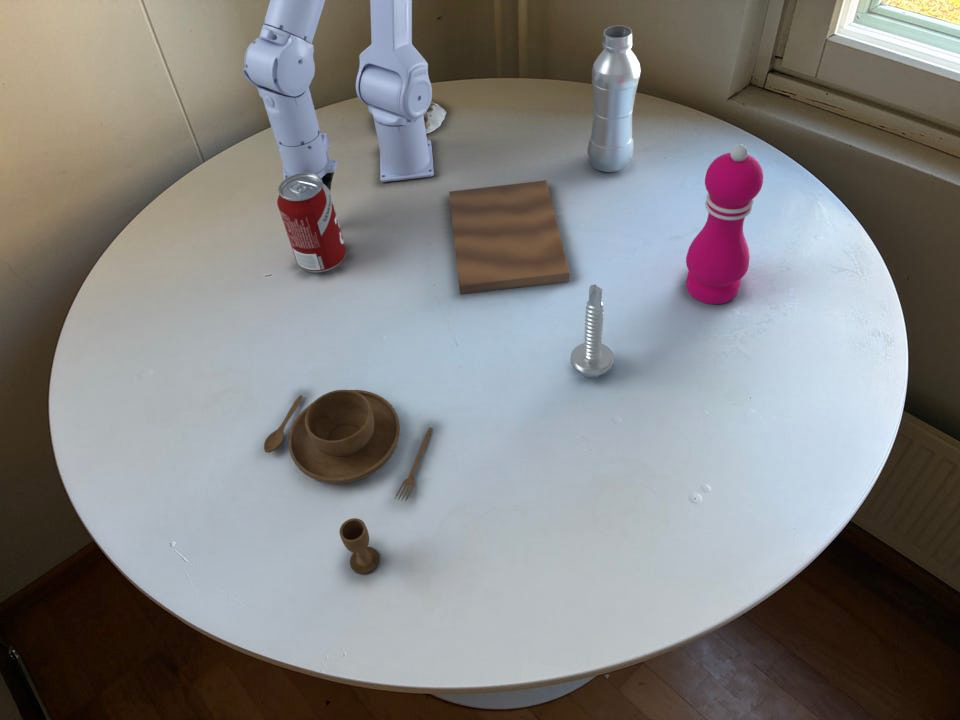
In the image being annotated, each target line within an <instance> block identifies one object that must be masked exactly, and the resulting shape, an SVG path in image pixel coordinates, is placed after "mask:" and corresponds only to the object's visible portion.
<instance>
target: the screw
mask: <svg viewBox="0 0 960 720" xmlns="http://www.w3.org/2000/svg"><path fill="white" fill-rule="evenodd" d="M602 298H603V288H601V287H600V286H598V285H597V284H592V285H590V286H589V287H588V301H586V306H585V316H584V317H585V319H584V320H585V323H584V342H582V343H580V344H578V345H576V346H575V347H574V348H573V349H572V350H571V353H570V359H569V361H570V364H571V366H572V368H573V369H574V370H575V371H576V372H578V373H579V374H582V375H583V376H584V378H587V379H589V378H592V379H599V378H600V376H603V375H604V374H607V373H608V372H609V371H610V370H611V369H613V367H614V365H615V364H614V363H615V355H614V352H613V350H612V349H611V348H610V347H609V346H607V345H606V344H604V343H603V341H602V340H603V330H604V329H603V328H604V325H603V324H604V312H605V310H604V303H603V302H602V301H603V300H602Z"/></svg>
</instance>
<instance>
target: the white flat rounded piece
mask: <svg viewBox="0 0 960 720" xmlns="http://www.w3.org/2000/svg"><path fill="white" fill-rule="evenodd" d="M434 101H435V99H433V98H432V99H431V103H430V106H429V108H428V110H427V112H426V113H425V114H424V115H423V116H424V123H425V129H426V135H427V134H430V133H433V132H434V131H435V130H437V129H438V128H440V127H441V125H442V122H443V121H444V120H445V118H446V115H447V114H448V112H447V111H446V109H444V108H443V107H442V106H441V105H440V104H438V103H434Z"/></svg>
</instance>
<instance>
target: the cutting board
mask: <svg viewBox="0 0 960 720" xmlns="http://www.w3.org/2000/svg"><path fill="white" fill-rule="evenodd" d="M549 189H550V188H549V186H548V181H547V180H546V179H545V180H537V181H527V182H519V183H511V184H502V185H493V186H486V187H477V188H467V189H459V190H450V191H448V195H449V205H450V206H449V207H450V213H451V215H450V217H451V225H452V234H453V245H454V253H455V261H456V271H457V281H458V291H459V295H464V294H466V295H467V294H474V293H475V294H476V293H484V292H492V291H501V290H509V289H516V288H517V289H519V288H525V287H527V288H528V287H533V286H542V285H552V284H559V283H561V284H562V283H568V282H570V280H571V279H570V276H571V275H570V274H571V272H570V269H569V264H568V261H567V256H566V254H565V249H564V245H563V241H562V240H563V239H562V237H561V233H560V229H559V224H558V220H557V218H556V212H555V210H554V209H555V208H554V205H553V202H552V201H553V200H552V197H551V193H550V190H549Z"/></svg>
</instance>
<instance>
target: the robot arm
mask: <svg viewBox="0 0 960 720" xmlns="http://www.w3.org/2000/svg"><path fill="white" fill-rule="evenodd" d="M325 2H326V0H270V1H269V4H268V7H267V10H266V14H265V16H264V21H263V25H262V27H261V31H260V33H259V36H258V37H257V38H255V39H254V40H253V41H252V42H250V44H248V47H247V48H246V50H245V54H244V68H243V69H242V73H243V75H244V77H245V79H246V80H247V82H249V83H250V84H251V85H254V87H255V88H256V89H257V92H258V95H259V97H260V98H261V99H262V101H263V105H264V108H265V112H266V114H267V117H268V121H269V125H270V127H271V131H272V134H273V137H274V141H275V143H276V147H277V149H278V153H279V157H280V159H281V162H282V165H283V166H282V173H283V181H284V180H285V179H286V178H288V177H290V176H292V175H295V174H299V173H312V174H316V175H318V176H319V177H320V178H321V179H322V182H323V184H325V185H326V186H327V187H328V188H329V190H330V191H331V189H332V182H333V177H334V174H335V172H336V171H337V168H338V160H336V159H330V154H329V149H330V147H331V144H330V143H331V142H330V140H329V136H328V133H322V132H321V129H320V125H319V121H318V118H317V117H318V116H317V114H316V110H315V106H314V102H313V98H312V94H311V90H310V85H311V84H312V81H313V78H314V77H315V73H316V72H315V71H316V65H315V64H316V63H315V60H314V53H315V49H314V47H315V46H314V44H313V41H314V37H315V36H316V35H315V34H316V32H317V28H318V25H319V21H320V18H321V15H322V12H323V9H324V7H325ZM369 2H370V3H369V4H370V6H369V7H370V34H371V35H370V37H371V39H370V40H371V44H370V45H369V46H368V47H366V48H365V49H364V50H363V51H361V52H360V54H359V56H358V57H359V66H358V72H357V75H356V79H355V92H356V95H357V97H358V99H359V101H360V102H361V103H362V104H364V105H366V106H367V109H368V113H370V114H371V115H372V118H373V122H374V123H373V124H374V127H375V132H376V137H377V142H378V147H379V155H380V156H379V158H380V159H379V162H380V163H379V165H380V169H379V170H380V171H379V173H380V174H379V177H380V182H381V183H388V182H397V181H405V180H413V179H423V178H431V177H433V176H434V175H435V171H434V170H435V169H434V161H433V148H432V141H431V140H430V139H428V138H427V134H426V129H425V123H424V116H423V115H424V114H425V113H426V112H427V110H428V108H429V106H430V103H431V100H433V87H432V82H431V79H430V78H429V77H430V76H429V64H428V62H427V61H426V59H425V58H424V56H423V55H422V53H420V51H418V49H417V48H416V47H415V46H414V45H413V29H412V28H413V11H412V10H413V0H369Z"/></svg>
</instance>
